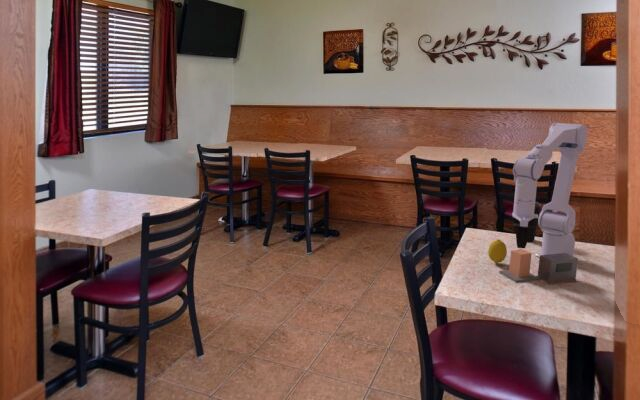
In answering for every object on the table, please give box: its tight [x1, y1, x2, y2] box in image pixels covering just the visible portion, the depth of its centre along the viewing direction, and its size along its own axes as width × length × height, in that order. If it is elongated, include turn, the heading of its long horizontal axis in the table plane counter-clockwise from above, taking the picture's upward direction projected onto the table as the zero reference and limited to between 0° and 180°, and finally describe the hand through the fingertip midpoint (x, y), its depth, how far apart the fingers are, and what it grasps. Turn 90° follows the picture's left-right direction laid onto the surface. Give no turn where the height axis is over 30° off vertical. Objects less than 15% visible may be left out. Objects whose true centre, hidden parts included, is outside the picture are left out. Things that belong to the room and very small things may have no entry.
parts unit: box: [536, 253, 579, 285], centre depth 149 cm, size 9×6×7 cm, turn 105°
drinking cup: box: [527, 201, 543, 243], centre depth 187 cm, size 8×8×20 cm
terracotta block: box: [508, 248, 532, 277], centre depth 152 cm, size 4×4×7 cm
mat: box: [498, 269, 540, 283], centre depth 152 cm, size 8×8×1 cm
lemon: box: [487, 239, 508, 264], centre depth 162 cm, size 6×6×8 cm
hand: (520, 244), depth 152 cm, fingers open, 7 cm apart
